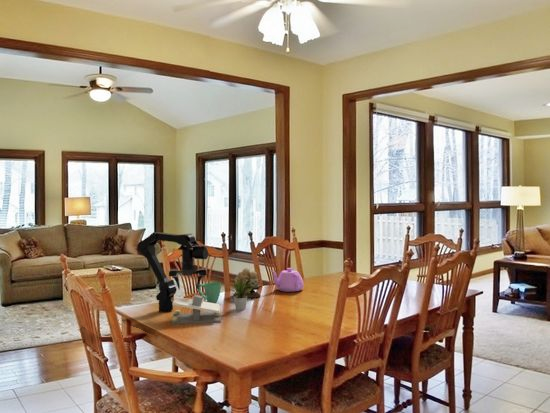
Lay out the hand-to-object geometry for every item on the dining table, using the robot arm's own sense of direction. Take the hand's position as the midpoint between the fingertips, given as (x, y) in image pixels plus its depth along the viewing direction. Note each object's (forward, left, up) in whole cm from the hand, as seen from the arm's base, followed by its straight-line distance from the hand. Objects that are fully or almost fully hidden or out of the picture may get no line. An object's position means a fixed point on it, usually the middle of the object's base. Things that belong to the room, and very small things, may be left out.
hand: (188, 289), depth 244 cm
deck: (+5, -13, -6) cm, 15 cm away
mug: (+10, +24, -12) cm, 29 cm away
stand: (+5, -13, -12) cm, 18 cm away
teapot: (+57, +47, -12) cm, 75 cm away
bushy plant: (+32, +34, -12) cm, 48 cm away
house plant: (+27, +3, -12) cm, 30 cm away
